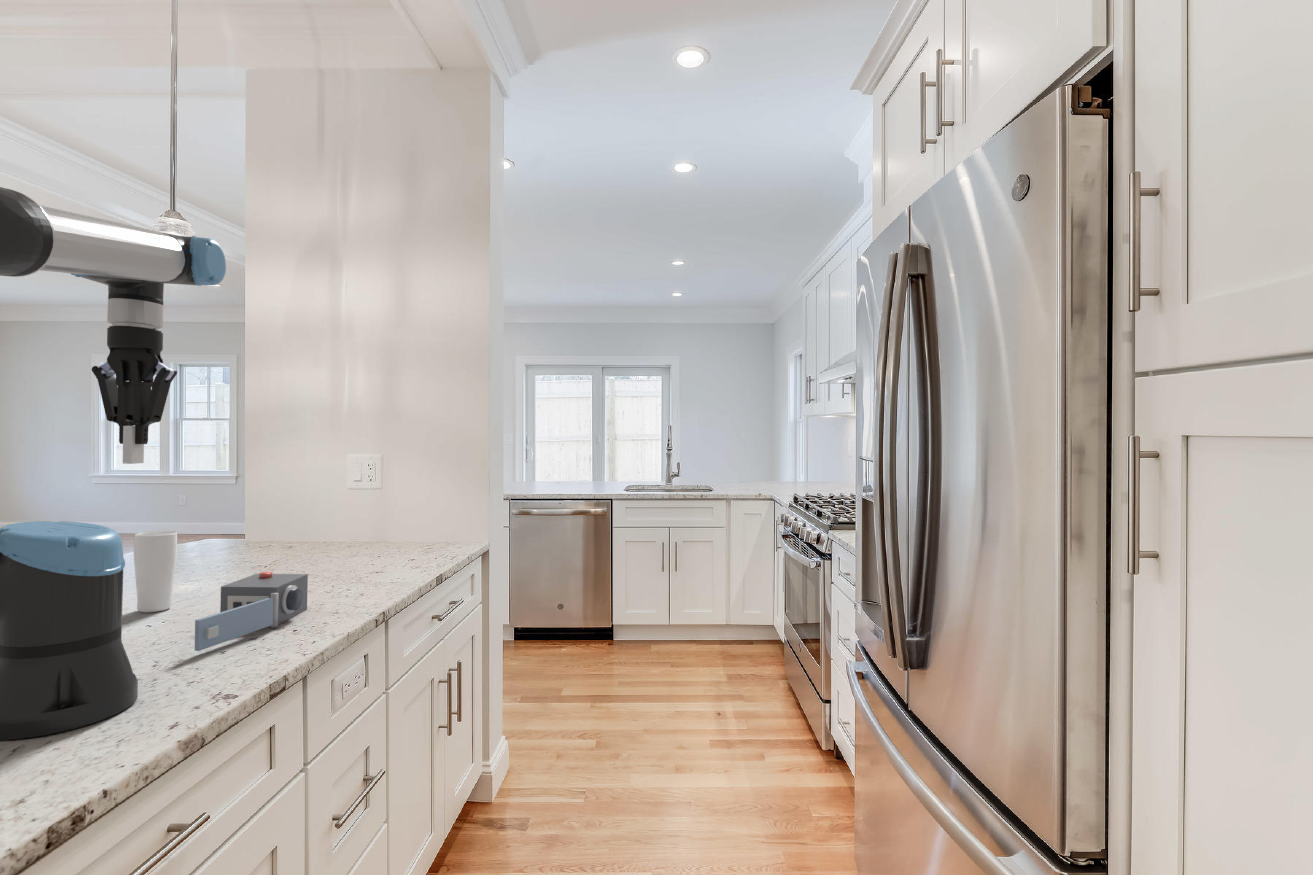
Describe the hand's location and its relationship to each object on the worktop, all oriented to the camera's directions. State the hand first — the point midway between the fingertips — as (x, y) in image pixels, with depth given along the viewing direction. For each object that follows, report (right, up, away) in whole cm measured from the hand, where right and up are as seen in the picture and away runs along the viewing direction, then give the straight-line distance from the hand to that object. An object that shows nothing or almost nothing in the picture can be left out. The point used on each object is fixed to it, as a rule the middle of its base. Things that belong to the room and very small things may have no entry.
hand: (133, 463), depth 111 cm
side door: (+21, -30, -3) cm, 36 cm away
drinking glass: (-7, -29, +14) cm, 33 cm away
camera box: (+17, -30, +11) cm, 36 cm away
